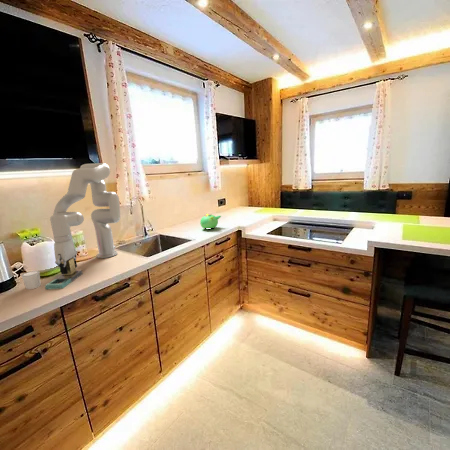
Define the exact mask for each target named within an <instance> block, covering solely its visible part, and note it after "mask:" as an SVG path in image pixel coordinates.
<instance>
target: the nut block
mask: <svg viewBox="0 0 450 450" xmlns="http://www.w3.org/2000/svg"><path fill="white" fill-rule="evenodd" d="M62 261H64V260H62ZM63 263H64V262H62V264H63ZM66 266H67V270H68V274H64V276H72V275H74V274H75V273H76V271H77V270H76V269H77V268H75V263H74V258H71V259H69V260H67V261H66Z"/></svg>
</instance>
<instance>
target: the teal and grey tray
mask: <svg viewBox="0 0 450 450" xmlns="http://www.w3.org/2000/svg"><path fill="white" fill-rule="evenodd" d="M81 275H83V270H80V269H79V270H76V273H75V274H74V275H72V276H64V274H61V275H58V276H57V277H56V278H54V279H53V280H51V281H50V282H48V283H47V284H45V285H44V288H45V290H59V289H64V288H65V287H67V286H68V285H70V284H71V283H72V282H73V281H75V280H76V279H78V278H79V277H80V276H81Z"/></svg>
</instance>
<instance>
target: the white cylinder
mask: <svg viewBox="0 0 450 450" xmlns="http://www.w3.org/2000/svg"><path fill="white" fill-rule="evenodd" d="M40 274H41V273H40V271H39V270H32V271H27V272H25V273H23V274H21V278H22V281H23V283H24V286H25V289H26V290H33V289H36V288H39V287H40V286H41V284H42V283H41V275H40Z"/></svg>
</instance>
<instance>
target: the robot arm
mask: <svg viewBox="0 0 450 450" xmlns="http://www.w3.org/2000/svg"><path fill="white" fill-rule="evenodd" d="M110 175H111V168H110V166H109V165H108V164H107V163H104V162H102V163H101V162H100V163H84V164H82V165H80V167H79V168H76V169H74V170H73V171H72V173H71V176H70V179H69V184H68V188H67V192H66V194H64V195H63V196H62V197H61V198H60V200H58V201H57V203H56V204H55V207H54V209H53V213H52V214H53V215H51V216H50V217H49V221H50V225H51V231H52V236H53V240H54V244H53V249H54V250H53V251H54V259H55V262H54V263H55V264H56V265H57V267H58V268H59V271H60V274H61V275H62V274H68V270H67V266H66V261H67V260H69V259H71V258H74V263H75V269H77V268H78V263H77V254H78V251H77V250H76V248H75V244H74V241H73V236H72V230H71V227H79V226H80V225H82V224H83V222H84V219H85V217H84V215H83V214H82V213H81V212H79V211H68V209H69V208H70V207H71V206H72V205H73V204H75V203H78V202H79V201H81V200H84V199H85V197H86V193H87V189H88V185H89V184H90V190H91V199H92V204H93V206H94V207H99V208H97V209H94V210H93V211H92V212H91V213H90V214H91V215H90V217H91V218H90V219H91V220H92V223H93V226H94V231H95V236H96V243H97V248H98V253H97V254H96V258H98V259H106V258H112V257H115V256H116V255H117V254H118V251H117V250H115V249H116V248H117V246H116V245H115V244H114V243H115V242H114V238H113V237H114V236H113V230H112V227H111V225H110V224H117V223H119V222H120V220H121V205H120V197H119V195H118V194H117V193H116V192H115V191H107V185H106V182H105V181H104V180H106V178H108V177H109V176H110ZM100 207H101V208H100ZM102 207H108V208H102ZM62 260H64V261H62ZM62 262H64V263H63V264H62Z"/></svg>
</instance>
